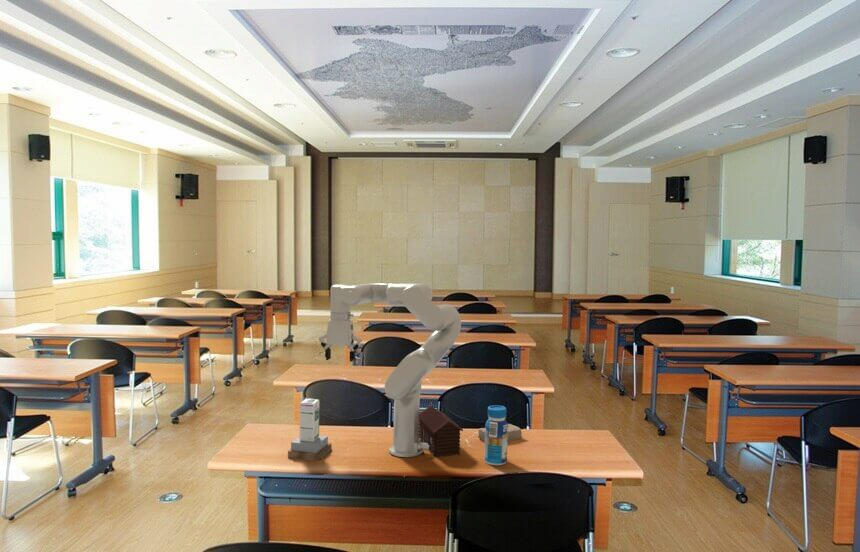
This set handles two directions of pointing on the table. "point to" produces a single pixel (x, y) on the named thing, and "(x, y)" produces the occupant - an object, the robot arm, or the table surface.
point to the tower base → (309, 455)
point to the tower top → (309, 444)
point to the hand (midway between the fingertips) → (340, 360)
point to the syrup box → (309, 420)
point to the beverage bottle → (496, 436)
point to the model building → (439, 432)
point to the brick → (512, 433)
